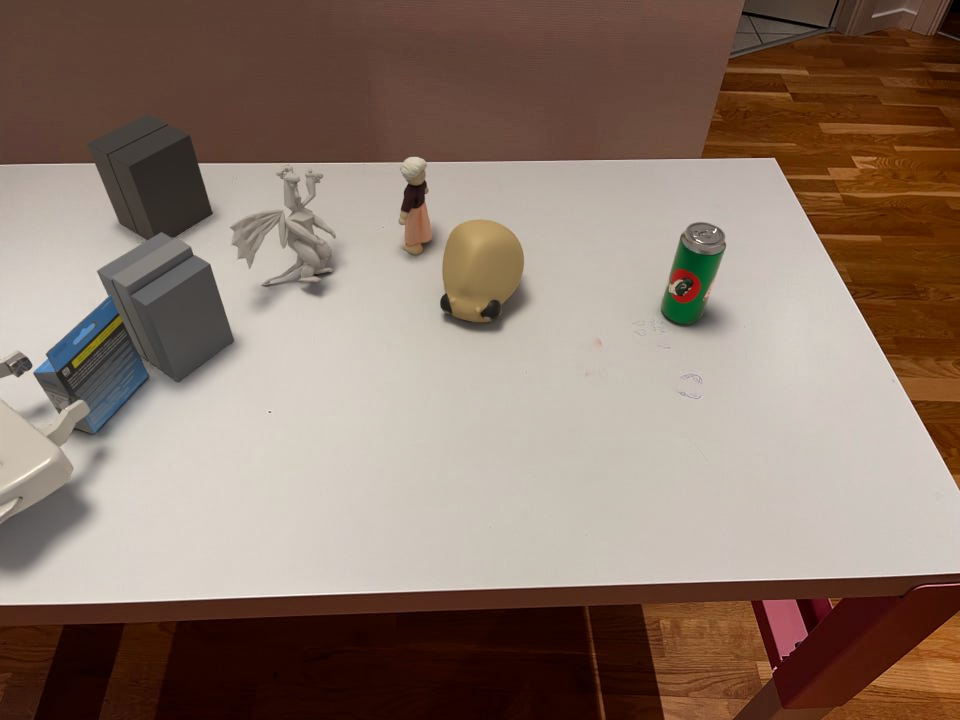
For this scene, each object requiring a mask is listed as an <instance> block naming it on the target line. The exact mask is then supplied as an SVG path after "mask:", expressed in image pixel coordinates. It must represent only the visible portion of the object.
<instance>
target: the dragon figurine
mask: <svg viewBox="0 0 960 720" xmlns="http://www.w3.org/2000/svg"><path fill="white" fill-rule="evenodd" d="M275 175H276V176H277V177H279V178H280V180H283V204H284V207H286V208H287V209H288V210H290V211H291V213H290V214H289V215H288V216H287V218H286V215H285V210H284V209H269V210H263V211H259V212H256V213H252V214H249V215H247V216H245V217H244V216H243V217H242V218H240V219H238V220H237V221H235V222H234V223H233V224H231V225H230V226H229V227H228V229H230V230H232V231H233V235H232V239H231V243H230V246H234V247H236V248H237V258H236V260H237V261H238V260H243V259H246V263H247V267H248V270H250V269H251V267H252V266H253V264H254V261H255V259H256V258H255V257H256V254H257V252H258V250H259V249H260V248H261V246H262V244H263V242H264V240H265V237H266V236H267V235H268V233H269V232H271V230H272V229H274V228H275V226H276V225H277V224H278V235H279V243H280V246H281V248H282V249H283V250H284V249H285V248H286V246H288V247H289V248H290V249H291V250H292V251H294V252H295V253H296V254H297V256H296V262H295V263H294V264H293V265H292V266H290V267H289V268H288V269H287V270H285V271H284V272H283V273H282V274H280V275H277V276H273V277H271V278H268V279H267V280H266V281H264V282H263V283H262V284H261V286H264V285H268V284H271V281H276V280H279V279H282V278H284V277H286V276H288V275H290V274H291V273H293V272H295V271H297V270H298V269H300V268H301V271H300V278H298V279H297V280H296V281H298V282H303V283H314V282H315V283H319V282H321V281H322V279H321V278H320V277H318V276H315V275H319V274H320V275H321V274H325V273H328V272H334V269H333V268H332V267H326V266H325V265H326V263H327V260H328V259H329V258H332V257H333V249H332V246H330V245H329V243H328V242H327V241H326V240H324V239H323V238H321V237H319V236H318V235H316V234H315V231H314V228H313V227H315V228H318V229H320V230H322V231H324V232H325V233H327V234H330V235H331V237H332V238H333V240H336V238H337V235H336V233H335V231H334V230H333V229H332V227H330V226H329V225H328V224H327V223H326V221H324V220H323V219H322V218H320V217H319V216H318V215H317V214H314V212H313V210H311V209H309V208H307V207H306V206H307V205H308V204H309V203H310V202H311V201H312V200H314V199H315V198H316V197H317V194H316V193H317V191H316V190H317V189H316V184H321V180H322V179H323V178H324V174H323V173H320V172H317V171H314V170H313V169H312V168H308V169H307V170H306V171H305V172H304V176H305V186H306V190H307V192H308V195H307V196H306V197H305V199H303V200H302V196H301V195H300V191H299V187H298V186H299V185H298V183H300V181H301V177H300V175H298V174H296V173H294V167H293V166H292V165H290V164H289V163H285V164H284V165H282V166H280V167H279V168H276V170H275Z"/></svg>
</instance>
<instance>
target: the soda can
mask: <svg viewBox="0 0 960 720" xmlns="http://www.w3.org/2000/svg"><path fill="white" fill-rule="evenodd" d="M726 248H727V242H726V233H725V232H724V230H723V229H722V228H720V227H719V226H718V225H715V224H713V223H710V222H707V221H706V222H705V221H698V222H697V221H696V222H693V223H690V224H689V225H687V226H686V229H685V230H684V231H683V232H681V234H680V237H679V240H678V244H677V247H676V251H675V254H674V258H673V261H672V265H671V269H670V272H669V275H668V279H667V282H666V285H665V289H664V292H663V297H662V300H661V304H660V308H661V311H662V313H663V314H664V316H665V317H666V318H667V319H668V320H670V321H671V322H674V323H677V324H681V325H688V324H693V323H695V322H697V321H699V320H700V319H701V318H702V317H703V316H704V312H705V309H706V306H707V304H708V300H709V297H710V296H711V295H710V294H711V292H712V288H713V287H714V283H715V281H716V277H717V274H718V272H719V268H720V265H721V263H722V260H723V257H724V254H725V252H726Z"/></svg>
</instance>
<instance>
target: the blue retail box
mask: <svg viewBox="0 0 960 720" xmlns="http://www.w3.org/2000/svg"><path fill="white" fill-rule="evenodd" d="M45 356H46V357H47V358H46V360H45V361H44V362H42V363H41V364H40V365H39V366H38V367H37V368H35V370H34V371H33V372H32V375H33V376H34V378H35V379H36V381H37V383H38V384H39V386H40V387H41V388H42V390H43V392H44V393H45V394H46V397H47V398H48V399H49V401H50V402H51V404H52V405H53V407H54V408H55V410H56V412H57V413H58V415H59V414H60V413H61V411H62V409H61V408H60V406H59V404H60V403H62V402H63V401H65V400H68V399H69V397H71V396H72V395H76V396H78V397H79V398H81V399H82V400H83V401H85V402H86V403H87V405H88V407H89V409H90V412H89V413H88V415H86V416H85V417H83V418H82V419H81V420H79V421H78V422H77V423H75V424H76V425H75V426H74V428H73V429H76V430H80V431H81V432H82V431H83V432H86V433H89V434H91V435H95V434H96V433H97V432H98V431H99V429H101V428H102V426H103V425H104V424H105V423H106V422H107V421H108V420H109V419H110V418H111V417H112V416H113V415H114V413H116V412H117V410H118V409H119V408H120V407H121V406H122V405H123V404H124V403H125V401H127V400H128V398H130V397H131V395H132V394H133V393H134V392H136V390H137V389H138V388H139V387H140V386H141V385H142V384H143V383H144V382H145V381H146V380H147V378H148V377H150V374H149V372H148V370H147V368H146V366H145V364H144V362H143V360H142V357H141V356H140V355H139V353H138V351H137V349H136V347H135V345H134V343H133V341H132V339H131V337H130V335H129V333H128V331H127V329H126V327H125V325H124V323H123V321H122V318H121V316H120V314H119V313H118V311H117V309H116V306H115V304H114V301H113V298H112V296H111V295H109V296H108V295H107V297H106V298H105V299H104V300H103V301H102V302H101V303H99V304H98V306H96V307H95V308H94V309H93V310H91V312H90V313H89V314H87V315H86V316H85V317H84V318H82V320H81V321H79V322H78V324H76V325H75V326H74V327H73V328H72V329H71V330H70V331H69V332H68V333H67V334H65V335H64V336H63V338H61V339H60V340H59V341H58V342H57V343H55V345H53V346H52V347H51V348H49V350H47V352H45Z"/></svg>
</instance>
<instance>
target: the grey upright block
mask: <svg viewBox="0 0 960 720" xmlns="http://www.w3.org/2000/svg"><path fill="white" fill-rule="evenodd" d="M96 273H97V275H98V276H99V279H100V281H101V283H102V286H103V288H104V290H105V292H106V294H107V297H108V296H109V295H111V296H112V298H113V301H114V304H115V306H116V309H117V311H118V313H119V314H120V316H121V318H122V321H123V323H124V325H125V327H126V329H127V331H128V333H129V335H130V337H131V339H132V341H133V343H134V345H135V347H136V349H137V351H138V353H139V356H140V358H143V359H144V360H146V361H147V362H149V363H150V364H152V365H153V366H154V367H156V368H157V369H159V370H160V371H161V372H163V373H164V374H166V375H167V376H169V377H170V378H172V380H174V381H176V382H177V383H179V382H181V380H183V379H185V377H187V376H189V375H190V374H191V373H192V372H194V371H195V370H197V369H198V368H200V367H201V366H202V365H203V364H205V363H206V362H207V361H208V360H210V359H211V358H213V357H214V356H216V355H217V354H218V353H220V352H221V351H222V350H224V349H225V348H226V347H227V346H229V345H230V344H232V343H233V342H234V341H235V338H234V335H233V332H232V329H231V326H230V323H229V319H228V316H227V313H226V310H225V306H224V304H223V300H222V298H221V294H220V291H219V288H218V284H217V281H216V278H215V275H214V271H213V269H212V266H211V263H209V262H208V261H206V260H205V259H203V258H201V257H200V256H198V255H196V254H194V252H193V249H192V246H191V245H189V244H187V243H186V242H184V241H182V240H180V239H179V238H178V237H174V238H171V237H169V236H167V235H166V234H164V233H162V232H161V233H159V234H158V235H156V236H154V237H153V238H151V239H149V240H146V241H144V242H143V243H141V244H139V245H138V246H136V247H134V248H132V249H130V250H128V251H127V252H126V253H124V254H122V255H120V256H119V257H117V258H116V259H113V260H112V261H110V262H109V263H107V264H105V265H104V266H102V267H100V268H98V269H97V270H96Z"/></svg>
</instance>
